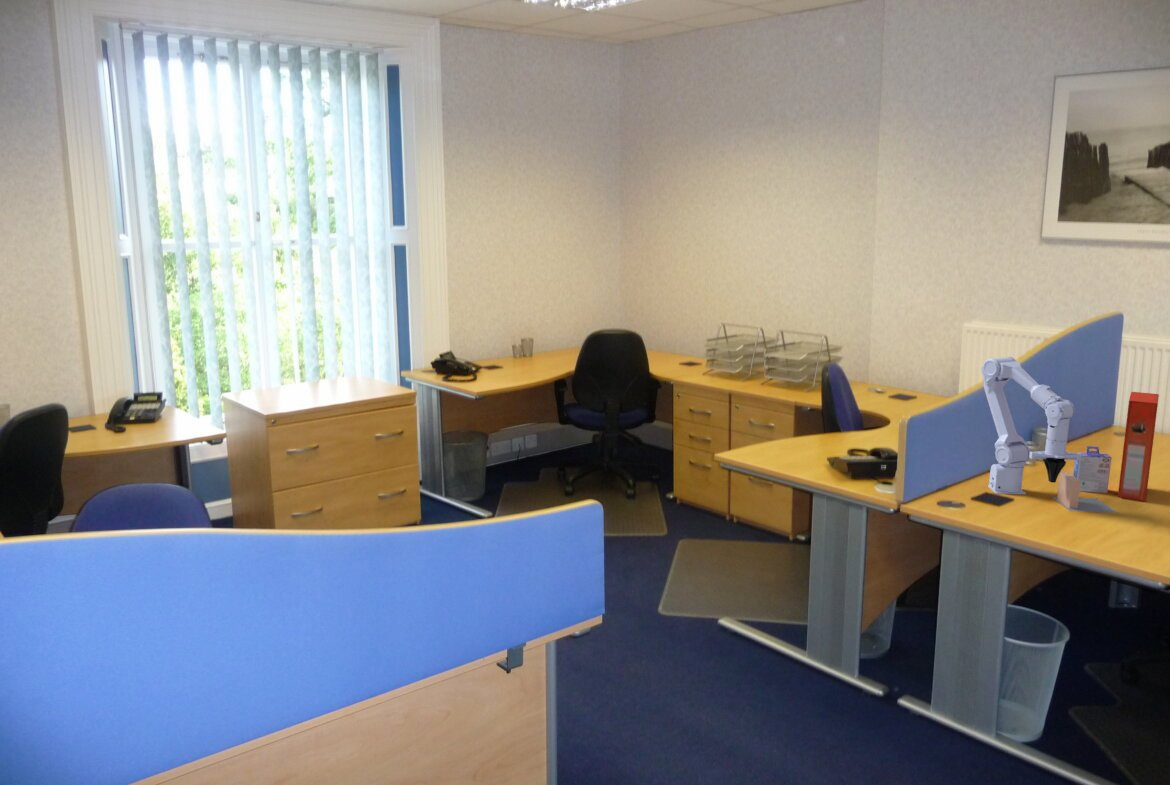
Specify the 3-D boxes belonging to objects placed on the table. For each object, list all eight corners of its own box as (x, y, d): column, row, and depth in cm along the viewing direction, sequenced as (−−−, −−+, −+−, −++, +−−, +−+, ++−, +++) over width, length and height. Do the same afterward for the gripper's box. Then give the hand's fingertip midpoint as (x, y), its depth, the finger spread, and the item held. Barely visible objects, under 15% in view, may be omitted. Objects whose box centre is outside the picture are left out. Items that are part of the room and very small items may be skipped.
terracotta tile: (1069, 508, 286) (1072, 480, 284) (1057, 499, 294) (1060, 472, 293) (1077, 508, 285) (1081, 480, 284) (1065, 499, 294) (1068, 472, 292)
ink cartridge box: (1102, 488, 307) (1108, 446, 304) (1108, 493, 302) (1113, 450, 299) (1070, 486, 309) (1075, 444, 306) (1075, 491, 304) (1080, 448, 301)
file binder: (1116, 497, 298) (1129, 400, 291) (1119, 484, 312) (1131, 391, 306) (1145, 502, 293) (1159, 403, 287) (1147, 488, 308) (1160, 394, 301)
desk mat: (1069, 512, 283) (1070, 511, 283) (1051, 497, 297) (1051, 496, 297) (1117, 513, 282) (1117, 512, 282) (1096, 499, 296) (1096, 498, 296)
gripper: (1037, 441, 283) (1032, 484, 286) (1086, 443, 282) (1081, 486, 284) (1028, 436, 290) (1024, 477, 292) (1076, 437, 289) (1071, 479, 291)
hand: (1051, 481), depth 289 cm, fingers closed
